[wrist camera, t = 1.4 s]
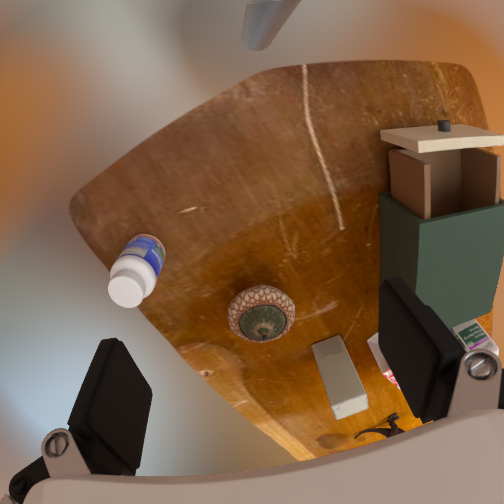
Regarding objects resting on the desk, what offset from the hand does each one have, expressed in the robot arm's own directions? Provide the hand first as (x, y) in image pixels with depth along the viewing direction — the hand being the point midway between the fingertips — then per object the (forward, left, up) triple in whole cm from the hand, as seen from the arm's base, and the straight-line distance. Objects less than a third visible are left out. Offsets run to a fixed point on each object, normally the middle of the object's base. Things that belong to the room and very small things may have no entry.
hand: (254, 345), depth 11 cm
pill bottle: (+8, -14, -29) cm, 33 cm away
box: (+31, +8, -29) cm, 43 cm away
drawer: (+5, +24, -27) cm, 37 cm away
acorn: (+17, -1, -29) cm, 33 cm away
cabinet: (+15, +24, -28) cm, 40 cm away
